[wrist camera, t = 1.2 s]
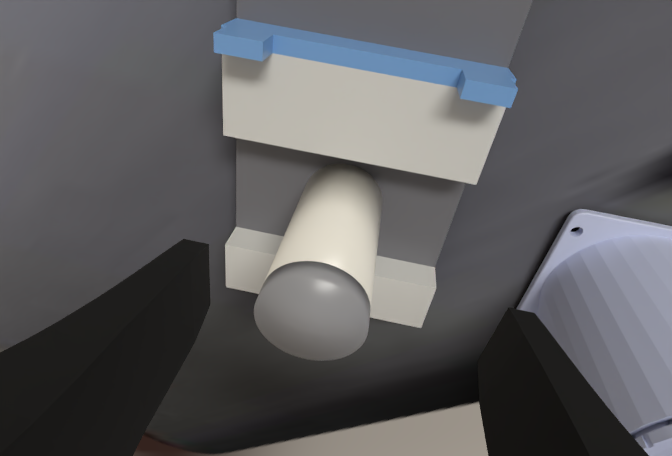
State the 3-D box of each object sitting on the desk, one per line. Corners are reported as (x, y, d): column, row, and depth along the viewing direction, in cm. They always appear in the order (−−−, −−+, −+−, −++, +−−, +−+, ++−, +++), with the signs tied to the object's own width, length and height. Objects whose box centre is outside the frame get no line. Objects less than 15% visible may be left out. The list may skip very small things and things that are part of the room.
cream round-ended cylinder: (374, 238, 20) (357, 370, 14) (300, 224, 20) (252, 347, 14) (390, 172, 18) (379, 293, 12) (307, 156, 18) (255, 267, 12)
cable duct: (420, 293, 23) (421, 347, 20) (242, 256, 23) (216, 303, 20) (609, -236, 11) (680, -298, 8) (249, -291, 12) (192, -370, 9)
